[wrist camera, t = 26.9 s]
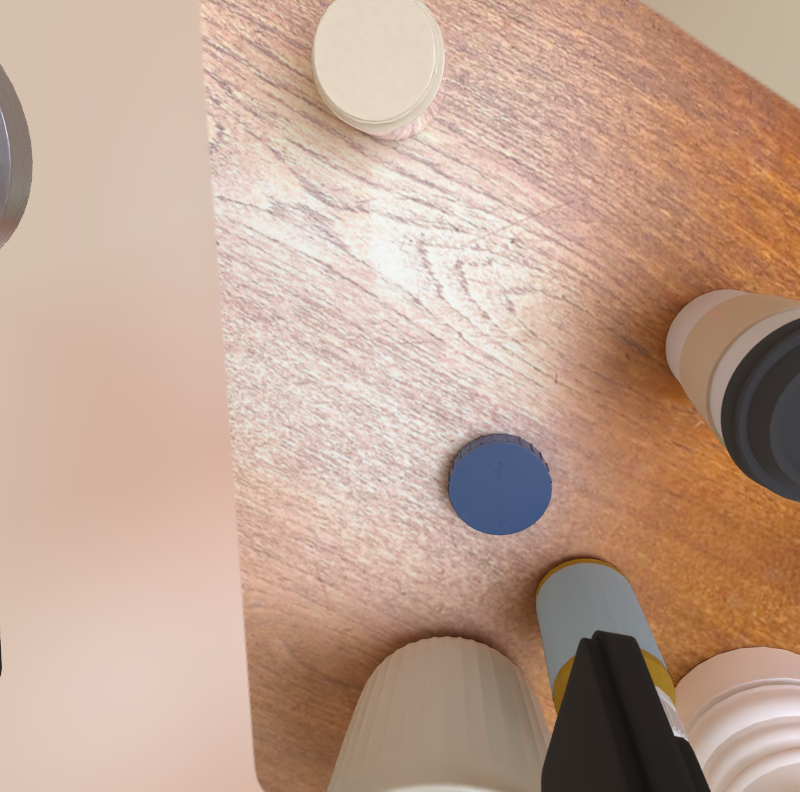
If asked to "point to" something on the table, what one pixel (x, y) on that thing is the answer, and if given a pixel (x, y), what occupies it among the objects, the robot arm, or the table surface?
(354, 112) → the jar
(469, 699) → the canister
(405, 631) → the table surface
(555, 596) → the bottle
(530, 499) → the lid
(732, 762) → the honey pot
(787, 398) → the coffee cup
